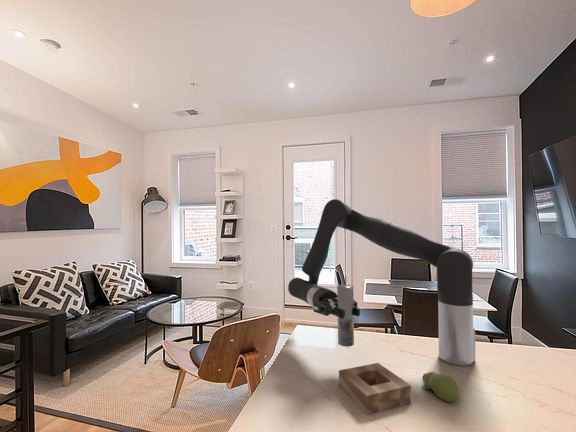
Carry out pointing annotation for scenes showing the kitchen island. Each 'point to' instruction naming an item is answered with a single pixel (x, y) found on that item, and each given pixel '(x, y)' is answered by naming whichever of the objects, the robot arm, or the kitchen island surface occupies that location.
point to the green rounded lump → (442, 386)
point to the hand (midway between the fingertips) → (350, 313)
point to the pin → (345, 315)
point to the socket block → (374, 387)
